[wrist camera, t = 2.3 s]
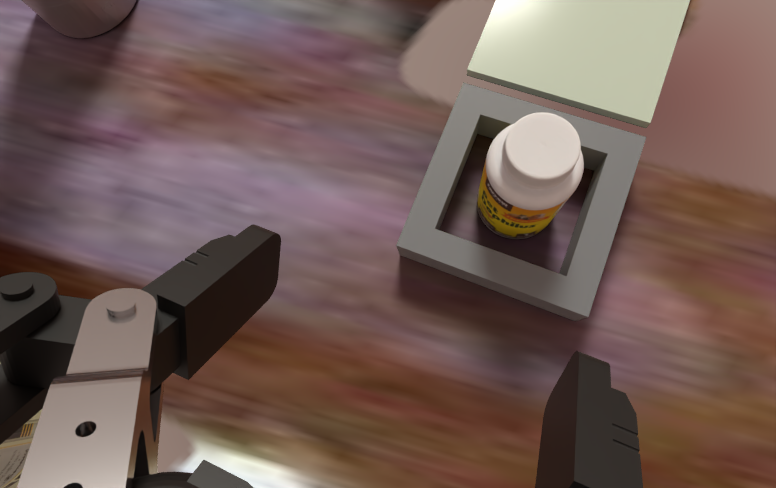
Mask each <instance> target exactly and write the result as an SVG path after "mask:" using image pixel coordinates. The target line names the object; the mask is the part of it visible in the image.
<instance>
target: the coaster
mask: <svg viewBox="0 0 776 488" xmlns="http://www.w3.org/2000/svg"><path fill="white" fill-rule="evenodd" d="M689 2H690V0H496V1H495V4H494V6H493V9H492V11H491V13H490V16H489V18H488V21H487V23H486V25H485V28H484V30H483V33H482V35H481V38H480V40H479V42H478V45H477V47H476V50H475V52H474V54H473V57H472V59H471V62H470V64H469V67H468V69H467V76H471V77H474V78H477V79H481V80H484V81H488V82H491V83H494V84H498V85H501V86H504V87H508V88H511V89H515V90H518V91H522V92H525V93H528V94H532V95H535V96H538V97H542V98H545V99H549V100H552V101H555V102H559V103H562V104H566V105H569V106H573V107H576V108H579V109H583V110H586V111H589V112H593V113H596V114H600V115H603V116H607V117H610V118H613V119H616V120H620V121H623V122H626V123H630V124H633V125H637V126H641V127H644V128H647V127H648V125H649V124H650V123H651V120H652V117H653V114H654V111H655V107H656V104H657V101H658V98H659V95H660V92H661V89H662V86H663V82H664V79H665V77H666V73H667V70H668V67H669V64H670V61H671V58H672V55H673V52H674V49H675V45H676V42H677V39H678V36H679V33H680V30H681V27H682V24H683V21H684V18H685V14H686V11H687V8H688V5H689Z"/></svg>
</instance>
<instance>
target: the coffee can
mask: <svg viewBox="0 0 776 488" xmlns="http://www.w3.org/2000/svg"><path fill="white" fill-rule="evenodd" d="M0 364H1V362H0ZM41 412H42V409H41V410H40V411H39V412H38V413H37V414H36V415H34V416H33V417H32V418H31V419H30V420H29V421H27V422H26V423H25V424H24V425H23V426H22V427H21V428H19V429H18V430H17V431H16V432H15V433H14V434H12V435H11V436H10V437H9V438H8V439H7V440H5V441H4V442H3V443H2V444H1V445H0V488H17V486H18V483H19V480H20V477H21V474H22V470H23V467H24V464H25V461H26V458H27V455H28V452H29V449H30V446H31V443H32V440H33V437H34V433H35V430H36V427H37V424H38V421H39V418H40V415H41Z"/></svg>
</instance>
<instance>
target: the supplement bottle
mask: <svg viewBox="0 0 776 488" xmlns="http://www.w3.org/2000/svg"><path fill="white" fill-rule="evenodd" d="M583 170H584V161H583V155H582V152H581V143H580V139H579V136H578V133H577V132H576V130H575V128H574V127H573V126H572V125H571V124H570V123H569V122H568V121H567V120H565V119H564V118H562V117H560V116H558V115H555V114H551V113H545V112H541V113H533V114H529V115H527V116H524V117H522V118H521V119H519V120H518V121H517V122H516V123H514V124H512V125H510V126H508V127H506V128H505V129H504V130H502V131H501V132H500V133H499V134H498V135H497V136H496V137H495V139H494V140H493V142H492V143H491V145H490V147H489V150H488V153H487V157H486V161H485V165H484V169H483V174H482V178H481V182H480V187H479V191H478V196H477V207H478V212H479V215H480V217H481V219H482V221H483V222H484V224H485V225H486V226H487V227H488V228H489V229H490V230H491V231H493V232H494V233H496V234H498V235H500V236H502V237H505V238H510V239H524V238H529V237H531V236H534V235H536V234H538V233H539V232H541V231H542V230H543V229H544V228H545V227H546V226H547V225H548V224H549V223H550V222H551V220H552V219H553V218H554V216H555V215H556V214H557V213H558V211H559V210H560V209H561V208H562V207H563V205H564V204H565V203H566V201H567V200H568V199H569V198H570V197H571V195H572V194H573V193H574V192H575V190H576V189H577V187H578V185H579V183H580V181H581V178H582V175H583Z"/></svg>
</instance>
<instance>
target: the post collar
mask: <svg viewBox="0 0 776 488" xmlns="http://www.w3.org/2000/svg"><path fill="white" fill-rule="evenodd" d="M541 112H545V113H551V114H555V115H558V116H560V117H562V118H564V119H565V120H567V121H568V122H569V123H570V124H571V125H572V126H573V127H574V128H575V130H576V132H577V133H578V136H579V139H580V143H581V152H582V155H583V161H584V168H587V169H590V170H593V171H594V173H593V176H592V179H591V182H590V185H589V188H588V191H587V194H586V197H585V200H584V202H583V205H582V208H581V211H580V214H579V217H578V220H577V223H576V226H575V229H574V232H573V235H572V238H571V241H570V244H569V247H568V250H567V253H566V255H565V258H564V261H563V264H562V267H561V270H560V273H556V272H553V271H551V270H548V269H545V268H542V267H540V266H537V265H534V264H531V263H528V262H526V261H523V260H520V259H517V258H515V257H512V256H509V255H506V254H504V253H501V252H498V251H495V250H493V249H490V248H487V247H484V246H481V245H479V244H476V243H473V242H470V241H468V240H465V239H462V238H459V237H457V236H454V235H451V234H448V233H445V232H443V231H440V230H439V229H440V226H441V224H442V221H443V219H444V216H445V214H446V211H447V209H448V206H449V204H450V201H451V199H452V196H453V194H454V191H455V189H456V186H457V184H458V181H459V179H460V176H461V174H462V171H463V169H464V166H465V164H466V161H467V158H468V156H469V153H470V151H471V148H472V146H473V143H474V141H475V138H476V136H477V134H480V135H483V136H486V137H489V138H492V139H495V137H496V136H497V135H498V134H499V133H500V132H501V131H502V130H504V129H505V128H506V127H508V126H510V125H512V124H514V123H516V122H517V121H518V120H519V119H521V118H522V117H524V116H527V115H529V114H533V113H541ZM645 139H646V137H644V136H641V135H638V134H634V133H631V132H628V131H624V130H621V129H618V128H614V127H611V126H608V125H604V124H601V123H598V122H594V121H591V120H587V119H584V118H581V117H577V116H574V115H571V114H567V113H564V112H561V111H557V110H554V109H550V108H547V107H544V106H541V105H537V104H534V103H530V102H527V101H524V100H520V99H517V98H513V97H510V96H507V95H503V94H500V93H497V92H493V91H490V90H487V89H483V88H480V87H477V86H474V85H470V84H466V83H463V85H462V87H461V90H460V92H459V95H458V97H457V99H456V102H455V104H454V107H453V109H452V112H451V114H450V116H449V119H448V121H447V124H446V126H445V128H444V131H443V133H442V136H441V138H440V141H439V143H438V145H437V148H436V150H435V153H434V155H433V158H432V160H431V162H430V165H429V167H428V170H427V172H426V174H425V177H424V179H423V182H422V184H421V187H420V189H419V191H418V194H417V196H416V199H415V201H414V204H413V206H412V208H411V211H410V213H409V216H408V218H407V221H406V223H405V225H404V228H403V230H402V233H401V235H400V237H399V240H398V242H397V245H396V246H397V249H398V251H399V254H400V255H401V256H404V257H406V258H409V259H412V260H414V261H417V262H420V263H422V264H425V265H428V266H430V267H433V268H436V269H438V270H441V271H443V272H446V273H449V274H451V275H454V276H457V277H459V278H462V279H465V280H467V281H470V282H473V283H475V284H478V285H481V286H483V287H486V288H488V289H491V290H494V291H496V292H499V293H502V294H504V295H507V296H510V297H512V298H515V299H518V300H520V301H523V302H526V303H528V304H531V305H533V306H536V307H539V308H541V309H544V310H547V311H549V312H552V313H555V314H557V315H560V316H563V317H565V318H568V319H571V320H573V321H578V320H581V319H584V318H587V317H588V316H589V313H590V310H591V307H592V304H593V301H594V298H595V295H596V292H597V288H598V285H599V282H600V279H601V276H602V273H603V270H604V267H605V264H606V261H607V257H608V254H609V251H610V248H611V245H612V242H613V239H614V236H615V233H616V229H617V226H618V223H619V220H620V217H621V214H622V211H623V208H624V205H625V202H626V198H627V195H628V192H629V189H630V186H631V183H632V180H633V177H634V174H635V170H636V167H637V164H638V161H639V158H640V155H641V152H642V149H643V146H644V143H645Z"/></svg>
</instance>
